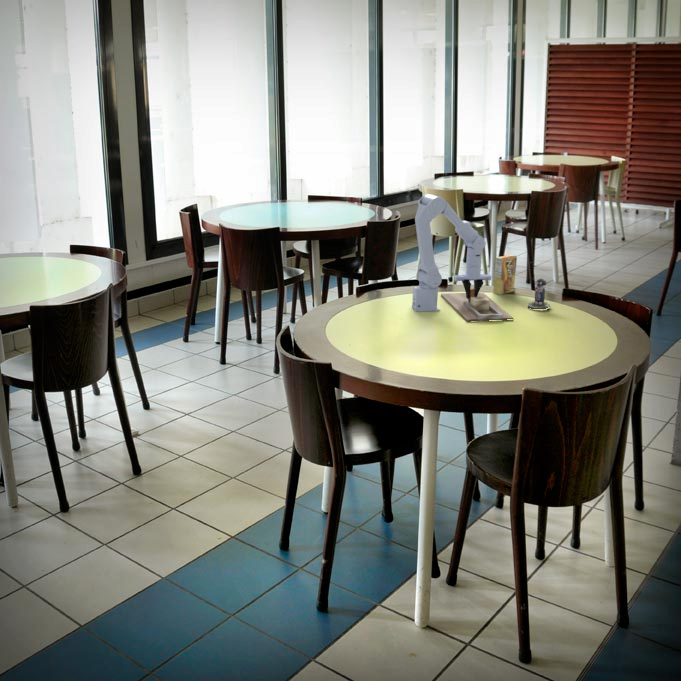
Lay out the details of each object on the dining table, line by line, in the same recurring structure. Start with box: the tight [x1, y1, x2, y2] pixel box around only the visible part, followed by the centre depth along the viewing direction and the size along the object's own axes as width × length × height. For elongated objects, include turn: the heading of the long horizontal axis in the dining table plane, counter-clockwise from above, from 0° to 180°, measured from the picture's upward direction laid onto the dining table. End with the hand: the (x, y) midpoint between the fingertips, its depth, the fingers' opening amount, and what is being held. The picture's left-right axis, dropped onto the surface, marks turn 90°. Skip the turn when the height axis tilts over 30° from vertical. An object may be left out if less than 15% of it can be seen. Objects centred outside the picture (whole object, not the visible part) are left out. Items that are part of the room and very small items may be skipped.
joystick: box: [468, 287, 490, 311], centre depth 330 cm, size 6×14×5 cm, turn 9°
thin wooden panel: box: [440, 292, 514, 323], centre depth 331 cm, size 18×36×2 cm, turn 9°
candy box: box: [492, 254, 518, 296], centre depth 351 cm, size 9×4×15 cm, turn 129°
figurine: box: [527, 278, 551, 310], centre depth 330 cm, size 8×8×12 cm
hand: (471, 298), depth 336 cm, fingers closed on joystick, 2 cm apart
